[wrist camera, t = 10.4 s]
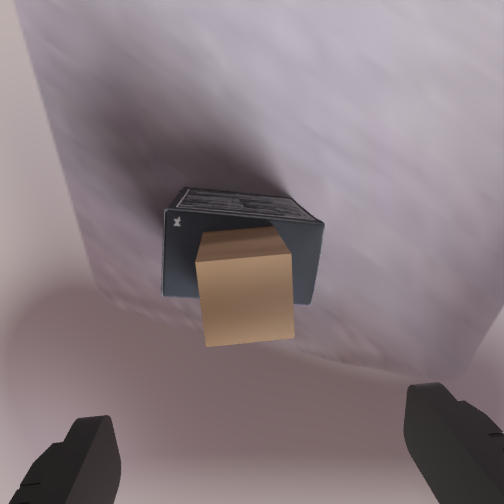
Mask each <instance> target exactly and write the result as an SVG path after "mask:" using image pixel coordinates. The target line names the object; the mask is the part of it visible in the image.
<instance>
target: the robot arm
mask: <svg viewBox="0 0 504 504" xmlns="http://www.w3.org/2000/svg"><path fill="white" fill-rule="evenodd" d="M404 438H405V442H406V445H407V448H408V451H409V453H410V455H411V457H412V458H413V460H414V462H415V463H416V465H417V467H418V468H419V470H420V472H421V473H422V475H423V477H424V478H425V480H426V482H427V483H428V485H429V487H430V488H431V490H432V492H433V494H434V495H435V497H436V499H437V500H438V502H439V503H440V504H504V434H503V431H502V430H501V429H500V428H499V427H498V426H497V425H496V424H495V423H494V422H493V421H492V420H491V419H490V418H489V417H488V416H487V415H486V414H484V413H483V412H481V411H480V410H478V409H477V408H475V407H474V406H472V405H470V404H469V403H467V402H466V401H457V400H456V399H455V398H454V396H452V394H451V393H450V392H449V391H448V390H447V389H446V388H445V387H444V386H443V385H442V384H441V383H438V382H435V383H426V384H416V385H410V386H409V387H408V390H407V399H406V409H405V419H404ZM120 476H121V459H120V455H119V450H118V446H117V442H116V437H115V433H114V428H113V424H112V420H111V418H110V416H108V415H104V416H94V417H85V418H78V419H76V420H75V422H74V423H73V425H72V427H71V428H70V430H69V432H68V434H67V436H66V438H65V439H64V441H63V442H60V443H53V444H52V445H51V446H50V447H49V448H48V449H47V450H46V451H45V452H44V453H43V454H42V455H41V456H40V457H39V458H38V459H37V460H36V461H35V462H34V463H33V464H32V466H31V467H30V469H29V471H28V472H27V474H26V476H25V478H24V479H23V481H22V482H21V484H20V488H19V490H17V491H16V492H15V494H14V496H13V497H12V499H11V501H10V502H9V504H113V503H114V500H115V497H116V493H117V490H118V487H119V482H120Z"/></svg>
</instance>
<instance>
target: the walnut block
mask: <svg viewBox="0 0 504 504" xmlns="http://www.w3.org/2000/svg"><path fill="white" fill-rule="evenodd" d="M195 264H196V272H197V280H198V288H199V296H200V304H201V312H202V319H203V327H204V335H205V343H206V347H212V346H221V345H231V344H240V343H249V342H259V341H269V340H278V339H288V338H295V334H294V308H293V283H292V257H291V252H290V251H289V249H288V247H287V246H286V244H285V243H284V241H283V240H282V238H281V237H280V235H279V233H278V232H277V230H276V229H275V227H274V226H268V227H257V228H245V229H234V230H222V231H211V232H203V234H202V238H201V242H200V246H199V250H198V254H197V257H196V261H195Z"/></svg>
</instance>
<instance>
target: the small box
mask: <svg viewBox="0 0 504 504" xmlns="http://www.w3.org/2000/svg"><path fill="white" fill-rule="evenodd" d="M163 214H164V222H163V258H162V285H161V294H162V296H165V297H182V298H199V299H200V296H199V288H198V280H197V272H196V264H195V261H196V257H197V254H198V250H199V246H200V242H201V238H202V234H203V232H211V231H222V230H234V229H245V228H257V227H268V226H274V227H275V229H276V230H277V232H278V233H279V235H280V237H281V238H282V240H283V241H284V243H285V244H286V246H287V247H288V249H289V251H290V252H291V257H292V283H293V304H295V305H310V304H311V301H312V296H313V292H314V286H315V280H316V275H317V270H318V264H319V258H320V253H321V246H322V240H323V234H324V228H325V224H324V223H323V222H322V221H320V220H318V219H317V218H315V217H314V216H313V215H311V214H310V213H309V212H307V211H306V210H305V209H304V208H303V207H301V206H300V205H299V204H298V203H297V202H296V201H295V200H294V199H292V198H283V197H274V196H264V195H258V194H257V195H254V194H245V193H236V192H229V191H217V190H207V189H195V188H186V187H184V188H183V189H181V190H180V193H179V194H178V196H177V197H176V198H175V199H174V201H173V202H172V203H171V204H170V206H169V207H168V208H166V209H165V210H164V212H163Z"/></svg>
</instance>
